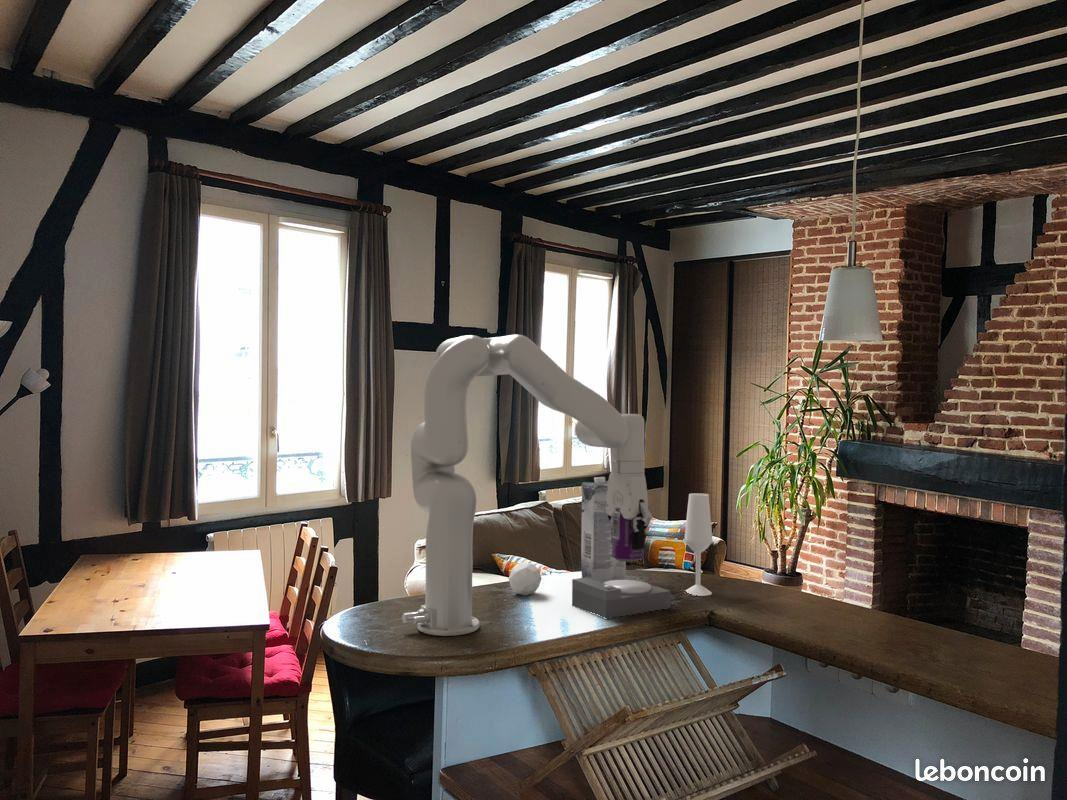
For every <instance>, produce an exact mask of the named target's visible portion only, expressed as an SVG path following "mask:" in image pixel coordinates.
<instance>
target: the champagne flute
mask: <svg viewBox="0 0 1067 800" xmlns="http://www.w3.org/2000/svg"><path fill="white" fill-rule="evenodd" d="M712 529H713V528H712V519H711V506H710V494H708V493H695V492H694V493H693V492H692V493H689V494H688V502H687V511H686V521H685V529H684V541H685V544H687V546H688V547H689V549H691V550H692V551H693V552H694V553H695V584H694V585H692V586H691V587H689V588H687V589H686V590H684V591H686V592H687V593H689V594H692V595H691V596H696V595H697V597H698V596H700V597H703V596H704V597H705V596H711V595H712V591H710V590H709V589H707V587H705V586H703V585H701V576H702V575H701V574H702V573H701V567H702V566H701V564H702V563H701V561H702V560H701V558H702V557H701V556H702V555H701V554H702V553H704V552H705V551H706V550H707V549H708V548H709V547H710V545H712V542H713V530H712ZM689 594H688V595H689Z"/></svg>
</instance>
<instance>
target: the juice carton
mask: <svg viewBox="0 0 1067 800" xmlns="http://www.w3.org/2000/svg"><path fill="white" fill-rule="evenodd" d="M593 480H594V482H593V481H591V482H589V481H586V482H585V481H584V482H582V483H581V539H580V540H581V544H580V545H581V550H580V551H581V555H580V557H581V558H580V560H581V561H580V564H581V565H580V567H581V578H586V577H587V578H590V579H593V580H596V581H599V582H602V583H604V582H607V581H611V580H626V568H627V565H626V563H627V562H623V561H618V560H617V559H615V558H614V557H612V543H611V526H610V520H609V518H608V515H607V512H606V510H605V507H606V504H607V488H608V480H606V477H605V476H598V477H595V476H594V477H593Z"/></svg>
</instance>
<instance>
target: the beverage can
mask: <svg viewBox="0 0 1067 800" xmlns="http://www.w3.org/2000/svg"><path fill="white" fill-rule="evenodd" d="M615 509H616V510H615V511H614V512H613V514H612V557H614V558H615V559H617V560H618V561H623V562H626V563H627V562H628V563H631V562H632V563H633V562H634V563H635V562H637V561H640V560H641V559H643V558H644V549H637V550H633V549H632V532H634V529H633V526H632V520H626V519H624V518H623V515H622V514H621V512H620V511H619V510H621V509H620V508H615ZM636 517H640V514H637V516H636ZM639 522H640V521H637V524H639Z"/></svg>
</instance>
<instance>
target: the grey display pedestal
mask: <svg viewBox="0 0 1067 800" xmlns="http://www.w3.org/2000/svg"><path fill="white" fill-rule="evenodd" d="M571 584H572V585H571V586H572V587H571V591H572V592H571V593H572V594H571V606H572V607H574V606H575V608H577V607H578V608H577V609H579V608H580V610H582V609H583V610H582V611H584V610H586V611H585V612H587V611H589V612H592V613H595V614H598V615H600V616H602V617H605V618H610V617H617V618H619V617H618V616H623V617H627V616H626V615H629V616H633V615H632V614H635V615H638V614H637V613H641V612H646V611H651V610H659V609H664V608H670V607H671V604H672V603H671V600H672V595H671V594H672V590H669V589H665V588H662V587H660V586H656V585H653V584H650V583H649V582H648V583H647V582H645V581H642V580H641V581H640V580H638V579H625V580H611V581H607V582H604V583H602V582H599V581H596V580H593V579H590V578H587V577H586V578H582V577H581V578H580V577H579V578H573V579H571ZM659 611H660V610H659ZM589 612H588V613H589ZM592 613H591V614H592ZM641 614H642V613H641Z"/></svg>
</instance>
